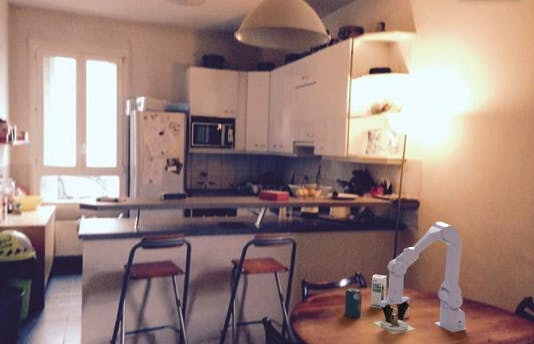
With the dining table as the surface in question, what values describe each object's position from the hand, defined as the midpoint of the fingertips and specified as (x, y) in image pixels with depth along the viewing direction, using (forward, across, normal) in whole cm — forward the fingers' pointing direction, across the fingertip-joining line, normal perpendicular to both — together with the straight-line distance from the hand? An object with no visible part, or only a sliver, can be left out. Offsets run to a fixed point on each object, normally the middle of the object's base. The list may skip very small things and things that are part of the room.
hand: (394, 321), depth 180 cm
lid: (+2, 0, 0) cm, 2 cm away
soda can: (+3, +9, -16) cm, 19 cm away
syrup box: (+3, -10, -21) cm, 23 cm away
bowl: (+2, -11, -9) cm, 14 cm away
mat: (+2, 0, 0) cm, 2 cm away
